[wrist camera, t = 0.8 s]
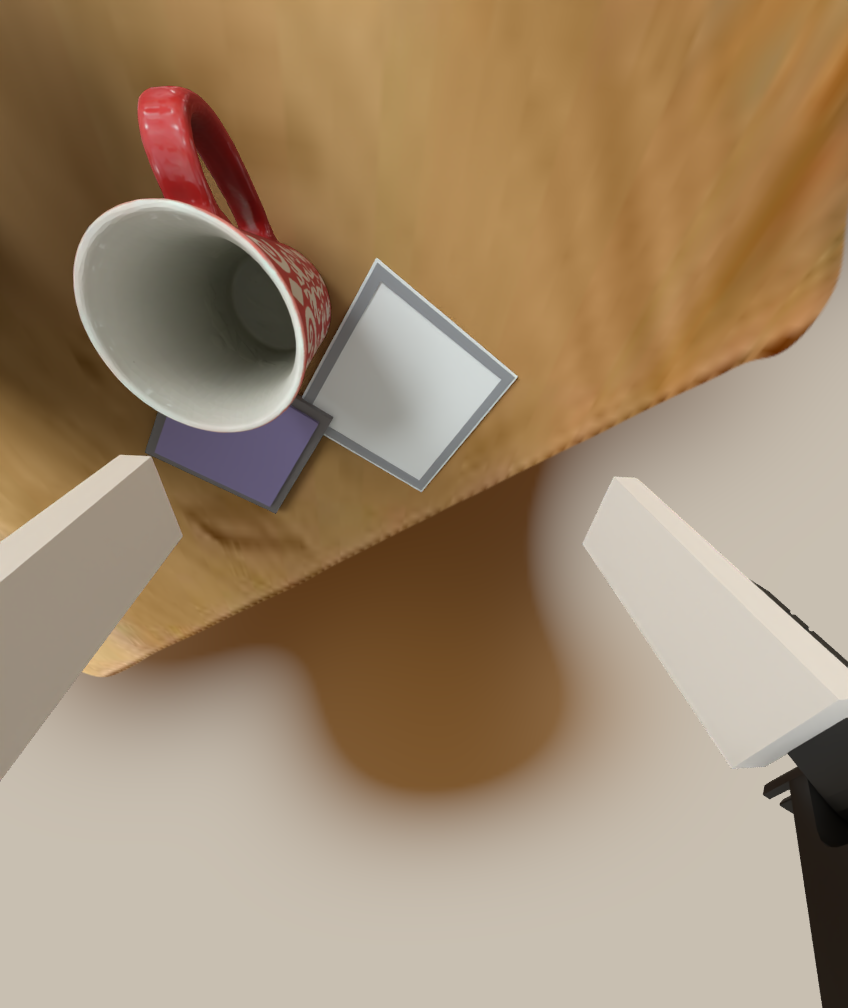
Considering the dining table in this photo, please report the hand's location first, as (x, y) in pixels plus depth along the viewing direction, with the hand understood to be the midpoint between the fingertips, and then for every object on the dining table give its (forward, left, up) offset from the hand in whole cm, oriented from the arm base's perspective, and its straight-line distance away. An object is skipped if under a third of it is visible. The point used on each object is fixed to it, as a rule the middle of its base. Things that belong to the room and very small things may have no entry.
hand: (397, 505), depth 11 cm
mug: (-10, -1, -22) cm, 24 cm away
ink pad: (-8, -14, -22) cm, 27 cm away
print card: (+2, -3, -22) cm, 22 cm away
